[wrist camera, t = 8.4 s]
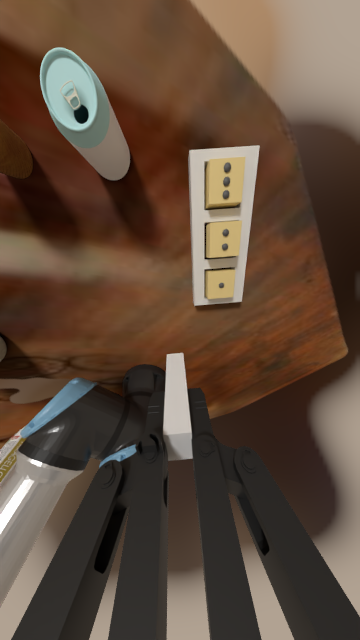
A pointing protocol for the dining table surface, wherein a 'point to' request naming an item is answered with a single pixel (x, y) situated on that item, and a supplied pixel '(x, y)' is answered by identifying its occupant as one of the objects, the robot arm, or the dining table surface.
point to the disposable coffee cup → (14, 154)
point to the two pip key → (223, 239)
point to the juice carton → (9, 457)
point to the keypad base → (219, 219)
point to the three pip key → (224, 182)
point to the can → (84, 112)
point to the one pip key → (219, 283)
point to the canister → (2, 349)
